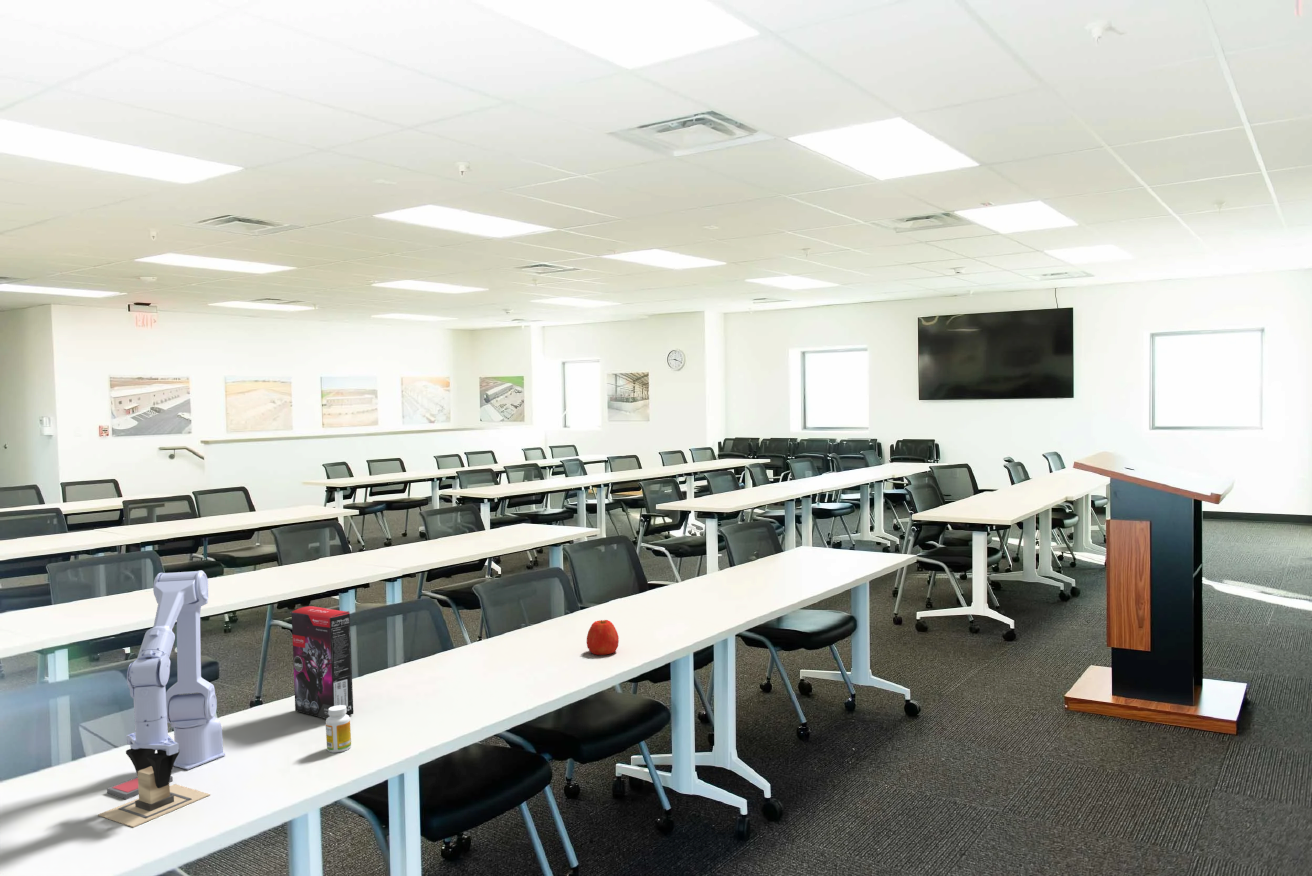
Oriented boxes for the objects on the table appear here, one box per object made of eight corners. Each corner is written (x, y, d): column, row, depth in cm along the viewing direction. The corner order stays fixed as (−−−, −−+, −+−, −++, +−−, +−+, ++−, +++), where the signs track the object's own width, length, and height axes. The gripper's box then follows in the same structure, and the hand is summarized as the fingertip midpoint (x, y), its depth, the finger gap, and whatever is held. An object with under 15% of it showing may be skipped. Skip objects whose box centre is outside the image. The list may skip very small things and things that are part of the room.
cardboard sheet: (175, 784, 193) (175, 783, 193) (210, 795, 187) (210, 793, 187) (98, 815, 179) (98, 813, 179) (133, 827, 173) (133, 826, 173)
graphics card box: (293, 712, 239) (288, 610, 238) (315, 704, 244) (311, 604, 244) (333, 722, 229) (329, 616, 228) (356, 714, 235) (351, 610, 234)
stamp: (159, 797, 186) (157, 762, 186) (174, 801, 184) (172, 766, 184) (135, 806, 182) (133, 771, 182) (150, 811, 179) (148, 775, 179)
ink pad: (153, 775, 198) (153, 770, 198) (172, 781, 195) (172, 776, 195) (107, 793, 190) (106, 788, 190) (126, 799, 186) (126, 794, 186)
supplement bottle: (354, 743, 214) (352, 703, 213) (347, 752, 208) (345, 711, 208) (331, 745, 214) (329, 704, 213) (323, 753, 208) (321, 712, 208)
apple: (606, 646, 295) (605, 614, 294) (625, 652, 287) (624, 619, 286) (580, 652, 288) (579, 620, 288) (599, 658, 280) (598, 625, 280)
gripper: (110, 718, 182) (113, 784, 183) (152, 729, 175) (156, 797, 176) (144, 707, 189) (148, 771, 189) (187, 717, 181) (190, 784, 182)
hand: (154, 783), depth 183 cm, fingers open, 5 cm apart
